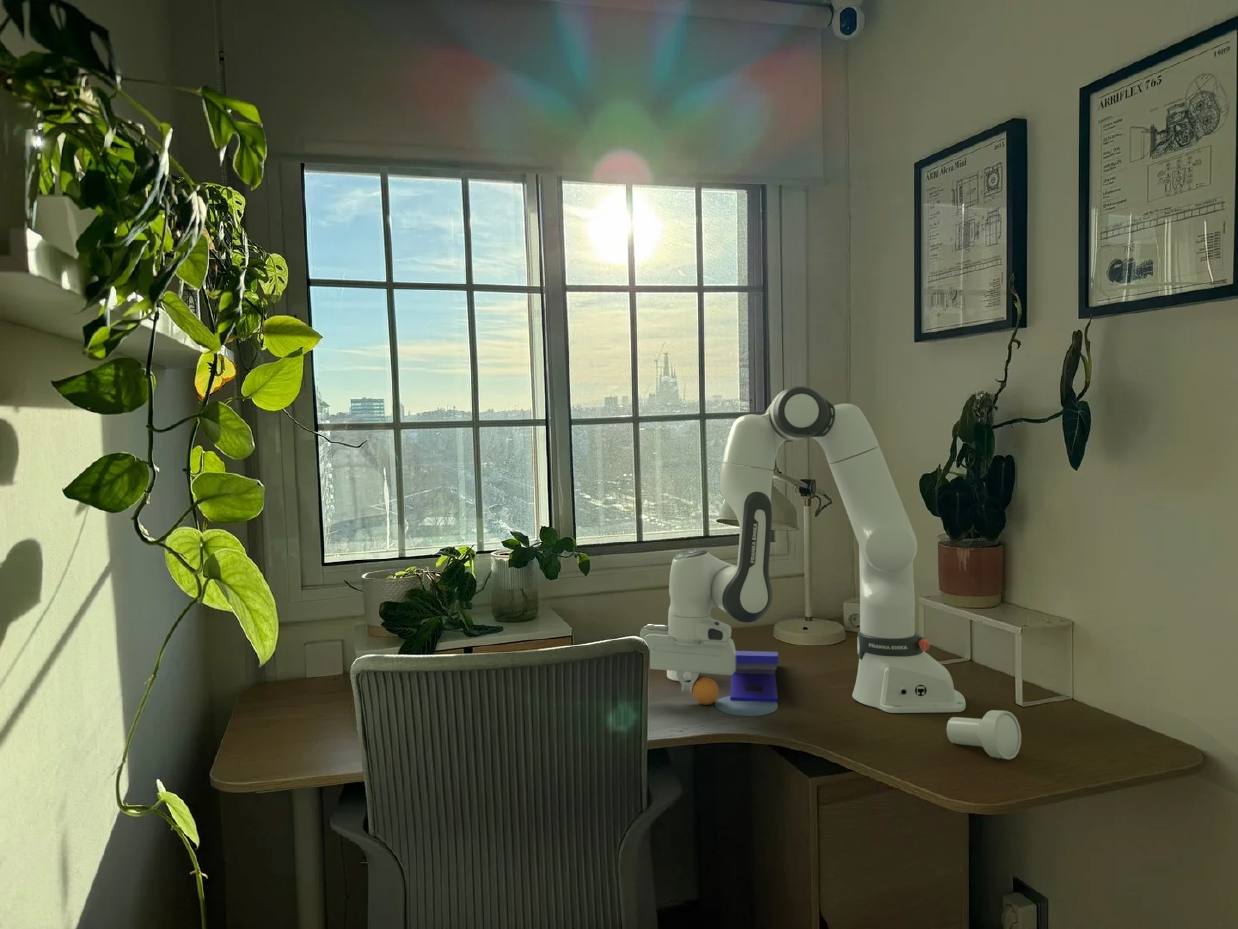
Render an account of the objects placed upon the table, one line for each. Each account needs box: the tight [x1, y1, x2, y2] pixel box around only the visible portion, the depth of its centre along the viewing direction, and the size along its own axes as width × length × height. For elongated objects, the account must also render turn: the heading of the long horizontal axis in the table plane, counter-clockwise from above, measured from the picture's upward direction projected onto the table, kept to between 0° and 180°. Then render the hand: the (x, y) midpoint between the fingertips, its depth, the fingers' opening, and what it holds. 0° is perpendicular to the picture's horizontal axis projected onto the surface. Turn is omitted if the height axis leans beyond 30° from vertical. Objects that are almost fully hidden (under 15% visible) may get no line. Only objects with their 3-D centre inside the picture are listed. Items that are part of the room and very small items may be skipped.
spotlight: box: [946, 709, 1022, 760], centre depth 155 cm, size 8×11×8 cm
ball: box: [692, 677, 720, 706], centre depth 182 cm, size 6×6×6 cm
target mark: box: [714, 695, 779, 717], centre depth 181 cm, size 13×13×1 cm
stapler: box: [729, 650, 779, 704], centre depth 197 cm, size 12×28×10 cm, turn 172°
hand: (687, 691), depth 183 cm, fingers closed
